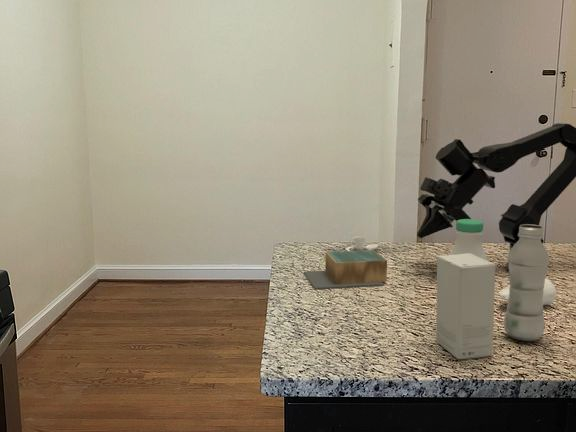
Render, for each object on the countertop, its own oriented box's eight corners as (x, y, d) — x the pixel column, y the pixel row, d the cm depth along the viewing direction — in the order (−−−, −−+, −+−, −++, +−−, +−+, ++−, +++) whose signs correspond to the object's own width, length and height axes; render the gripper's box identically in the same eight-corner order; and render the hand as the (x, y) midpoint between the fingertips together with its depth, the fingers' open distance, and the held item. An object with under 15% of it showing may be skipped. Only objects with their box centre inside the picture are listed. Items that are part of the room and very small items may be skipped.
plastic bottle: (547, 346, 99) (557, 231, 95) (505, 343, 100) (513, 229, 96) (539, 332, 105) (548, 223, 101) (499, 329, 106) (507, 222, 102)
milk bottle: (488, 323, 109) (495, 218, 105) (483, 338, 102) (490, 226, 99) (446, 317, 112) (451, 215, 109) (438, 331, 106) (443, 223, 102)
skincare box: (493, 357, 95) (499, 264, 92) (455, 361, 93) (460, 267, 90) (467, 337, 103) (472, 251, 100) (432, 340, 101) (436, 253, 99)
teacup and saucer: (381, 250, 166) (381, 236, 165) (369, 256, 159) (369, 241, 159) (353, 246, 171) (353, 232, 170) (340, 252, 164) (340, 238, 163)
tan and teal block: (373, 249, 143) (325, 251, 141) (387, 260, 133) (335, 262, 131) (373, 269, 143) (325, 272, 142) (386, 281, 134) (335, 284, 132)
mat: (366, 269, 145) (366, 268, 145) (383, 285, 132) (384, 283, 132) (303, 273, 142) (303, 271, 142) (314, 289, 130) (314, 287, 130)
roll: (487, 306, 119) (489, 279, 118) (533, 299, 123) (535, 273, 122) (508, 316, 113) (510, 288, 112) (555, 308, 118) (558, 281, 117)
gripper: (426, 161, 145) (383, 207, 145) (461, 170, 127) (411, 222, 127) (454, 191, 148) (412, 236, 148) (492, 204, 130) (443, 255, 130)
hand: (418, 236), depth 138 cm, fingers closed
